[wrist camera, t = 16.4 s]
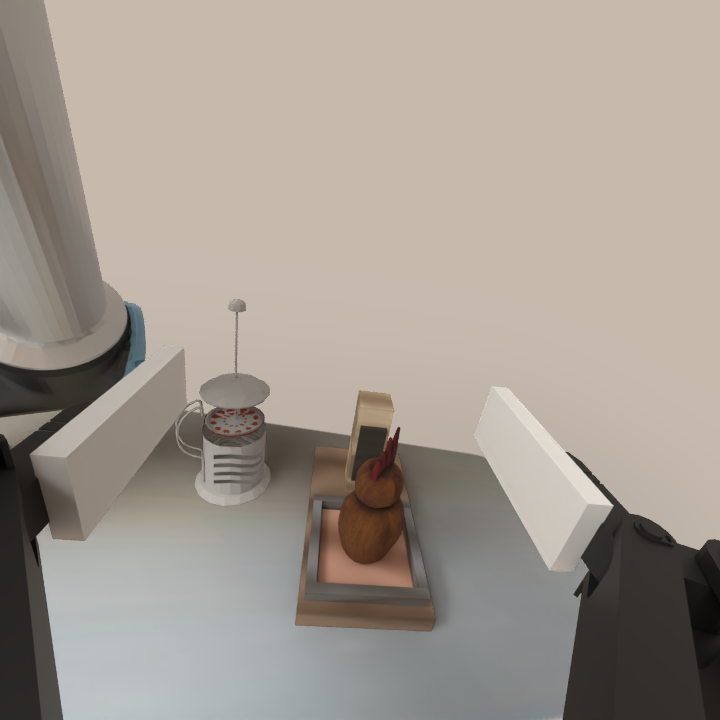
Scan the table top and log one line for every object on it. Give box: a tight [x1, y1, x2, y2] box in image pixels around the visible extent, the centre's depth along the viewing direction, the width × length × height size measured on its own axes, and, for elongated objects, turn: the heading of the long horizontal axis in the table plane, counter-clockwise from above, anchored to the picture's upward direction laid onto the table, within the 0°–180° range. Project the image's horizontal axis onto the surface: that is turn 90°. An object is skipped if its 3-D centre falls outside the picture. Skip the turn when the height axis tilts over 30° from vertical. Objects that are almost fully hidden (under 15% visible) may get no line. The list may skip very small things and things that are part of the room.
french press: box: [175, 299, 271, 506], centre depth 42 cm, size 10×12×25 cm
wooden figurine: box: [338, 427, 404, 564], centre depth 36 cm, size 7×6×15 cm
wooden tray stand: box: [295, 391, 436, 631], centre depth 41 cm, size 24×13×15 cm, turn 3°
